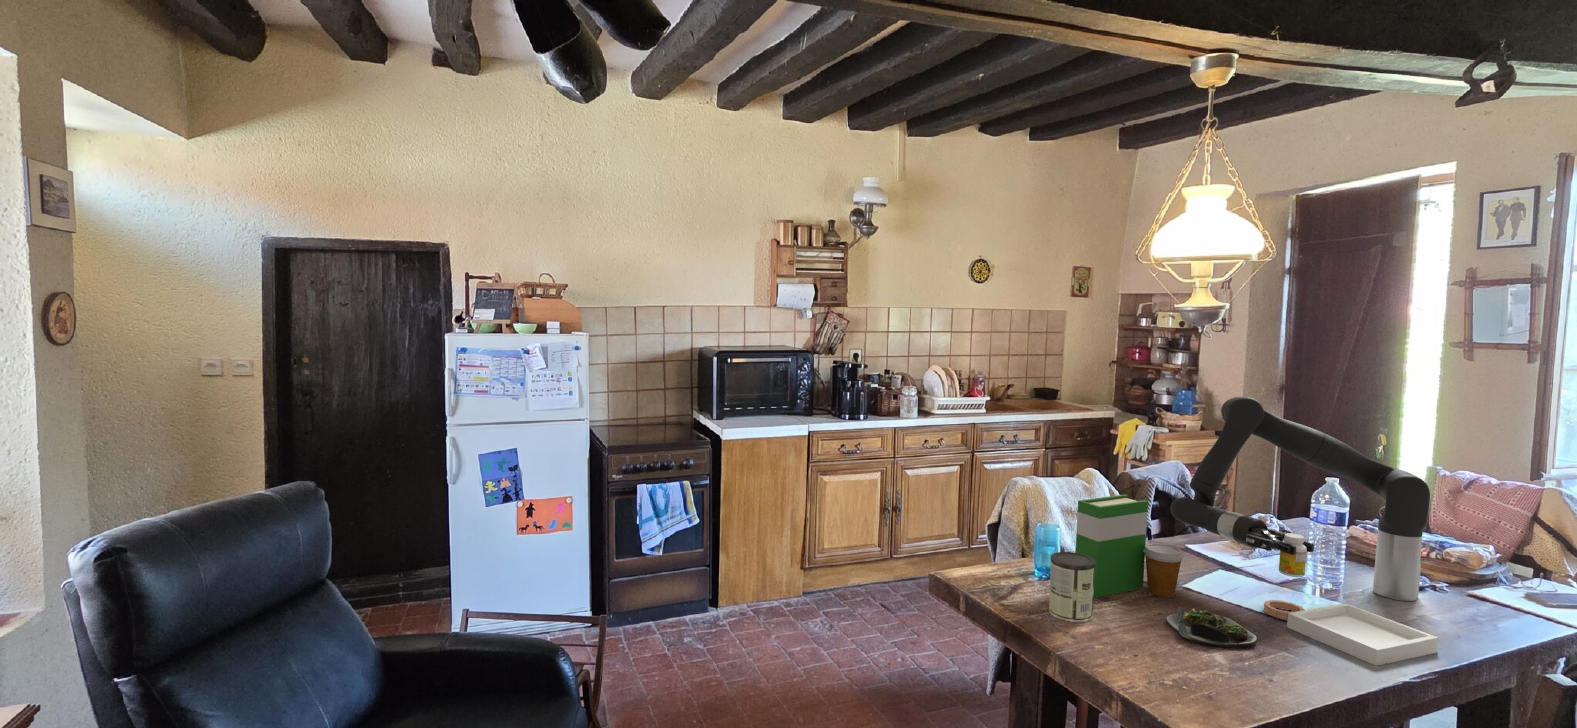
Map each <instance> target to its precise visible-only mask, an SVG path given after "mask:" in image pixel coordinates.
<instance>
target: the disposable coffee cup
mask: <svg viewBox="0 0 1577 728" xmlns="http://www.w3.org/2000/svg"><path fill="white" fill-rule="evenodd" d="M1144 553H1145V566H1146V567H1145V568H1146V582H1147V591H1148V593H1150V594H1151V595H1154V596H1156V597H1160V598H1172V597H1174V596H1175V593H1176V589H1177V584H1178V578H1179V575H1180V574H1179V573H1180V570H1181V569H1180V568H1181V564H1182V561H1183V559H1184V558H1185V557H1184V556H1185V555H1184V554H1183V551H1182V549H1180V548H1178V547H1175V546H1172V545H1170V544H1163V543H1149V544H1146V545H1145V549H1144Z"/></svg>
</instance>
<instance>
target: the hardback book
mask: <svg viewBox="0 0 1577 728" xmlns="http://www.w3.org/2000/svg"><path fill="white" fill-rule="evenodd" d="M1148 508H1149V500H1146V499H1144V500H1135V499H1131V498H1129V495H1128V494H1117V495H1110V496H1103V497H1095V498H1094V497H1093V498H1090V499H1089V498H1088V499H1079V500H1077V513H1076V535H1075V552H1074V553H1079V554H1084V555H1087V556H1089V557H1091V558H1093V559H1094V560H1095V562H1096V563H1095V570H1094V591H1093V598H1095V599H1096V597H1097V598H1101V597H1100V596H1102V597H1106V595H1107V596H1112V595H1115V593H1117V594H1120V593H1126V592H1129V591H1130V590H1131V591H1135V590H1140V589H1143V588H1144V578H1145V577H1144V576H1145V575H1144V574H1145V563H1146V557H1145V553H1144V549H1145V548H1146V545H1147V543H1146V542H1147V528H1148V523H1147V522H1148V510H1149V509H1148ZM1125 591H1126V592H1125ZM1111 594H1112V595H1111Z"/></svg>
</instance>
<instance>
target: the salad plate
mask: <svg viewBox="0 0 1577 728" xmlns="http://www.w3.org/2000/svg"><path fill="white" fill-rule="evenodd" d="M1166 621H1167V623H1168V624H1169V626H1171V627H1172V628H1173V629H1174V630H1175V631H1176V632H1178V633H1179V636H1181V637H1182V638H1184V639H1186V640H1187V641H1188V642H1190V643H1193V644H1196V645H1200V646H1203V647H1206V648H1213V649H1226V650H1227V649H1228V650H1229V649H1231V650H1233V649H1234V650H1241V649H1242V650H1243V649H1249V648H1252V647H1254V646H1255V645H1256V644H1257V642H1258V636H1256V635H1255V634H1254V633H1252V631H1249V630H1248V629H1246V628H1244V627H1243V626H1242V625H1241V624H1240V623H1237V622H1236V621H1235V620H1233V619H1231V618H1229V617H1226V616H1222V615H1219V614H1213V613H1211V612H1210V611H1209V610H1206V609H1205V610H1195V608H1192V609H1191V610H1190V611H1189V612H1187V609H1186V608H1184V607H1183V606H1182V607H1181V606H1179V607H1178V608H1177V613H1172V614H1169V615H1168V616H1166Z"/></svg>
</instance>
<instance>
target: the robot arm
mask: <svg viewBox="0 0 1577 728" xmlns="http://www.w3.org/2000/svg"><path fill="white" fill-rule="evenodd" d="M1220 413H1221V418H1222V420H1223V421H1224V425H1223V428H1222V431H1221V432H1220V434H1219V435H1218V438H1217V439H1216V441H1215V443H1214V444H1213V445H1212V447H1211V448H1210V450H1209V451H1208V452H1207V453H1206V455H1205V456H1204V457H1203V459H1202V460H1201V461H1200V464H1199V465H1198V466H1197V469H1195V470H1196V471H1195V472H1194V474H1193V476H1192V478H1191V480H1190V483H1189V488H1190V489H1191V490H1192V491H1193V492H1194V494H1193V495H1194V496H1193V498H1190V497H1185V496H1184V497H1183V496H1182V497H1177V498H1176V499H1174V500H1173V501H1172V502H1171V505H1170V513H1171V515H1172V516H1173V518H1175V520H1177V521H1179V522H1182V523H1183V524H1186V525H1189V526H1191V527H1193V528H1201V529H1204V530H1206V531H1208V532H1209V533H1212V534H1215V535H1218V536H1220V537H1224V538H1225V539H1227V540H1229V541H1232V542H1235V543H1238V544H1241V545H1243V546H1245V547H1250V548H1252V549H1257V548H1258V549H1262V550H1266V551H1270V552H1271V551H1272V550H1273V551H1276V552H1278V551H1279V552H1280V551H1283V552H1285V553H1288V554H1291V555H1294V554H1296V546H1294V545H1291V544H1288V543H1285V534H1286V533H1294V532H1292V531H1290V530H1286V529H1282V530H1281V531H1278V530H1277V529H1274V528H1268V525H1267V524H1266V523H1265V521H1263V520H1261V519H1258V518H1255V517H1252V516H1249V515H1245V514H1242V513H1239V512H1232V511H1229V510H1226V509H1223V508H1220V507H1215V506H1214V505H1215V501H1216V494H1217V492H1218V491H1219V489H1220V488H1221V485H1222V483H1223V481H1224V480H1225V478H1226V475H1227V474H1228V472H1229V470H1230V469H1231V466H1232V464H1233V463H1234V461H1235V459H1236V457H1237V455H1238V454H1239V452H1240V451H1241V450H1242V448H1243V446H1244V445H1246V444H1245V443H1246V442H1247V441H1248V440H1249V438H1250V437H1251V436H1252V435H1253V436H1256V437H1258V438H1261V439H1262V440H1264V441H1267V442H1269V443H1270V444H1272V445H1274V446H1275V447H1278V449H1281V450H1283V452H1286V453H1287V454H1289V455H1290V456H1293V457H1295V458H1297V459H1299V460H1301V461H1303V462H1305V463H1307V465H1308V464H1309V465H1311V466H1313V467H1315V468H1317V469H1319V470H1322V471H1324V472H1327V473H1329V474H1333V475H1335V476H1338V477H1341V478H1344V479H1345V478H1346V479H1349V480H1350V481H1354V482H1356V483H1357V484H1360V485H1361V486H1363V487H1365V488H1367V489H1368V490H1370V491H1371V492H1373V493H1375V494H1377V495H1378V496H1380V497H1381V498H1383V499H1384V500H1385V504H1384V514H1383V516H1382V517H1380V518H1379V519H1378V523H1377V524H1378V525H1377V536H1376V547H1375V562H1374V573H1373V582H1372V585H1373V586H1372V591H1373V593H1375V594H1377V595H1379V596H1381V597H1385V598H1388V599H1392V600H1395V601H1397V600H1398V601H1403V602H1414V601H1416V600H1417V599H1418V598H1419V594H1420V593H1419V592H1420V582H1421V568H1422V562H1421V557H1422V555H1421V554H1422V543H1423V542H1422V541H1423V533H1424V529H1425V528H1426V526H1427V523H1428V518H1429V510H1430V503H1431V492H1430V487H1429V486H1428V484H1427V483H1426V482H1425V480H1424V479H1421V478H1420V477H1418V476H1416V475H1414V474H1412V473H1410V472H1408V471H1405V470H1402V469H1399V468H1396V467H1393V466H1390V465H1387V464H1385V463H1382V462H1379V461H1377V460H1375V459H1372V458H1370V457H1368V456H1366V455H1365V454H1363V453H1361V452H1359V451H1358V450H1356V449H1355V448H1353V447H1352V446H1350V445H1348V444H1347V443H1345V442H1343V441H1341V440H1340V439H1337V438H1336V437H1333V436H1331V435H1329V434H1327V433H1325V432H1322V431H1321V430H1318V429H1315V428H1313V427H1309V426H1306V425H1304V424H1300V423H1298V422H1294V421H1291V420H1287V419H1284V418H1283V417H1280V416H1277V415H1275V414H1273V412H1270V411H1268V410H1266V409H1264V407H1263V405H1262V404H1261V402H1260V401H1258V400H1257V399H1256V398H1252V397H1248V396H1236V397H1232V398H1229V399H1227V400H1226V401H1225V402H1223V404H1222V406H1221V409H1220ZM1294 534H1296V533H1294ZM1303 545H1304V546H1306V548H1307V552H1308V553H1313V552H1314V551H1315V545H1314V543H1313V542H1309V541H1306V540H1304V543H1303Z"/></svg>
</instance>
